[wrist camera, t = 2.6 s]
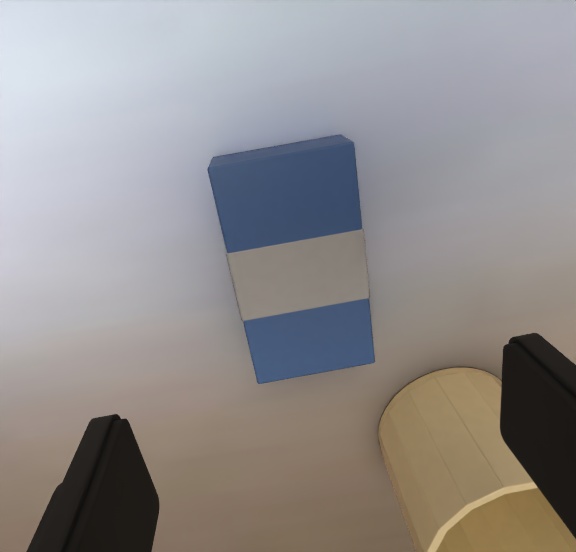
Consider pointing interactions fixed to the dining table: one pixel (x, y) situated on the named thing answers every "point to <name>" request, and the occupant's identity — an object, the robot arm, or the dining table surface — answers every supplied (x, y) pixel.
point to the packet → (297, 255)
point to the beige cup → (463, 470)
